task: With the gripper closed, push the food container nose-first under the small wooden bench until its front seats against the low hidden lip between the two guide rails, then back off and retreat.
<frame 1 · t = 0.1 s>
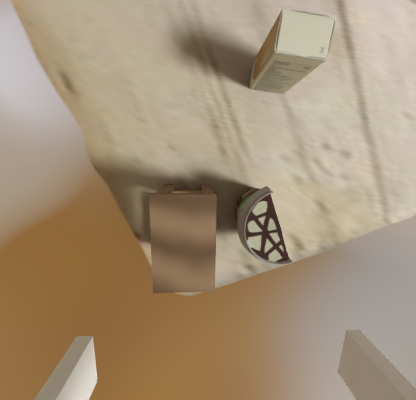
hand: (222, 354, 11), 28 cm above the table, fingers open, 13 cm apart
small wooden bench: (188, 216, 38), on the table
skincare box: (267, 78, 34), on the table
food container: (245, 215, 39), on the table
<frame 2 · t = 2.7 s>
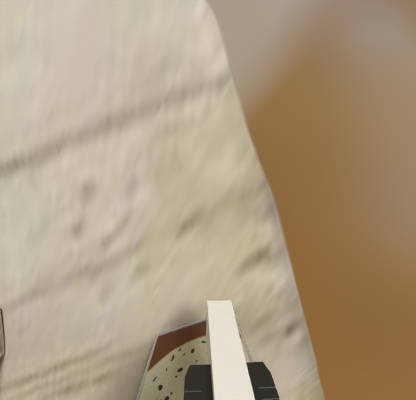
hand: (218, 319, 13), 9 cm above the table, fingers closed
food container: (202, 340, 24), on the table
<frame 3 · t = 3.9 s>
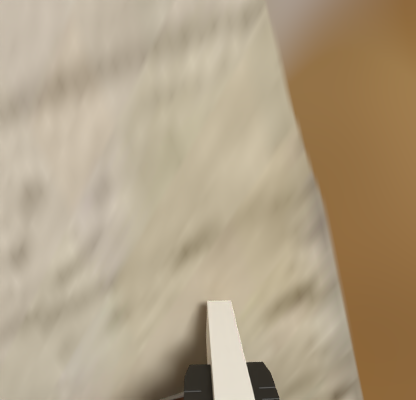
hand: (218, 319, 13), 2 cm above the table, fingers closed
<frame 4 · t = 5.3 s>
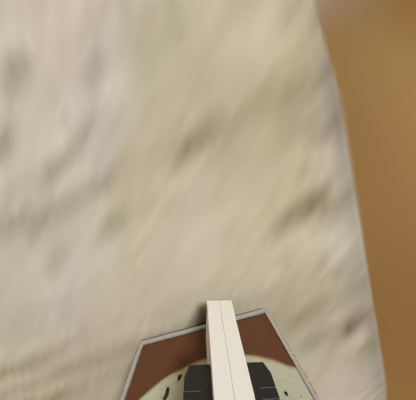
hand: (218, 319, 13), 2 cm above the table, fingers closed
food container: (213, 351, 16), on the table
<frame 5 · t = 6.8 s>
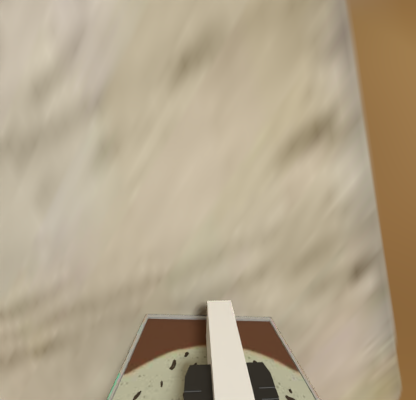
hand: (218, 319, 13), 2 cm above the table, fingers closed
food container: (206, 347, 16), on the table, touching gripper, hand
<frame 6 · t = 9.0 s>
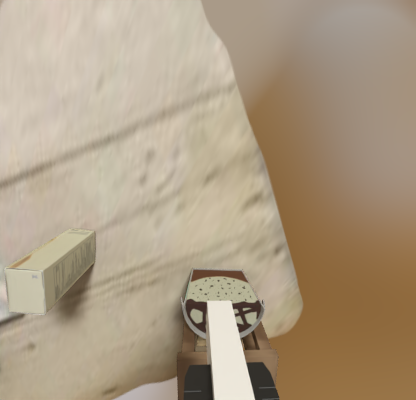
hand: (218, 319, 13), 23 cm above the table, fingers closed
small wooden bench: (217, 309, 39), on the table
skincare box: (83, 245, 36), on the table
food container: (216, 283, 38), on the table
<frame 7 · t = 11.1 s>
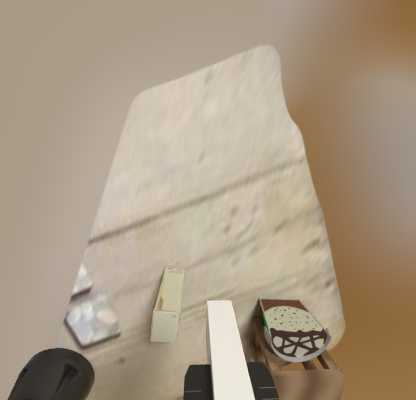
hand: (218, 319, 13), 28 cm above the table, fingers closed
small wooden bench: (276, 331, 48), on the table
skincare box: (173, 280, 44), on the table
food container: (276, 309, 47), on the table
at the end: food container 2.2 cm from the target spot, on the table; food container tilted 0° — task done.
